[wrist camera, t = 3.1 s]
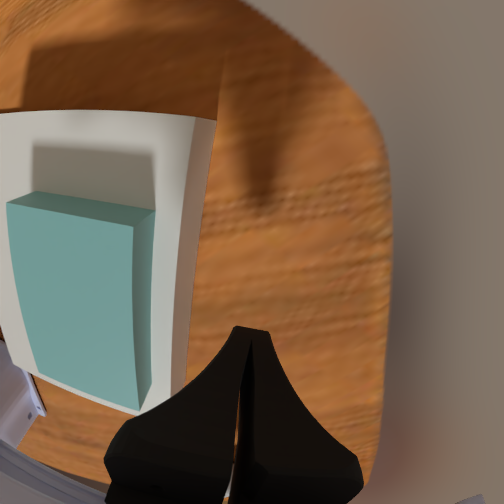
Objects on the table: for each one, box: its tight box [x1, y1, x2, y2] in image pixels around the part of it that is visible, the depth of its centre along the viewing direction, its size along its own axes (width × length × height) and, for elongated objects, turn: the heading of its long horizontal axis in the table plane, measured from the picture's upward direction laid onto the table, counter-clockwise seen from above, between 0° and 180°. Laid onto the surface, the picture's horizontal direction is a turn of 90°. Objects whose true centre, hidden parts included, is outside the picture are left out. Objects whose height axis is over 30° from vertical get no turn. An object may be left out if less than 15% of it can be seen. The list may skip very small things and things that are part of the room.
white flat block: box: [0, 110, 217, 416], centre depth 14 cm, size 16×12×4 cm
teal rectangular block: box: [6, 191, 156, 412], centre depth 12 cm, size 9×6×2 cm, turn 170°
